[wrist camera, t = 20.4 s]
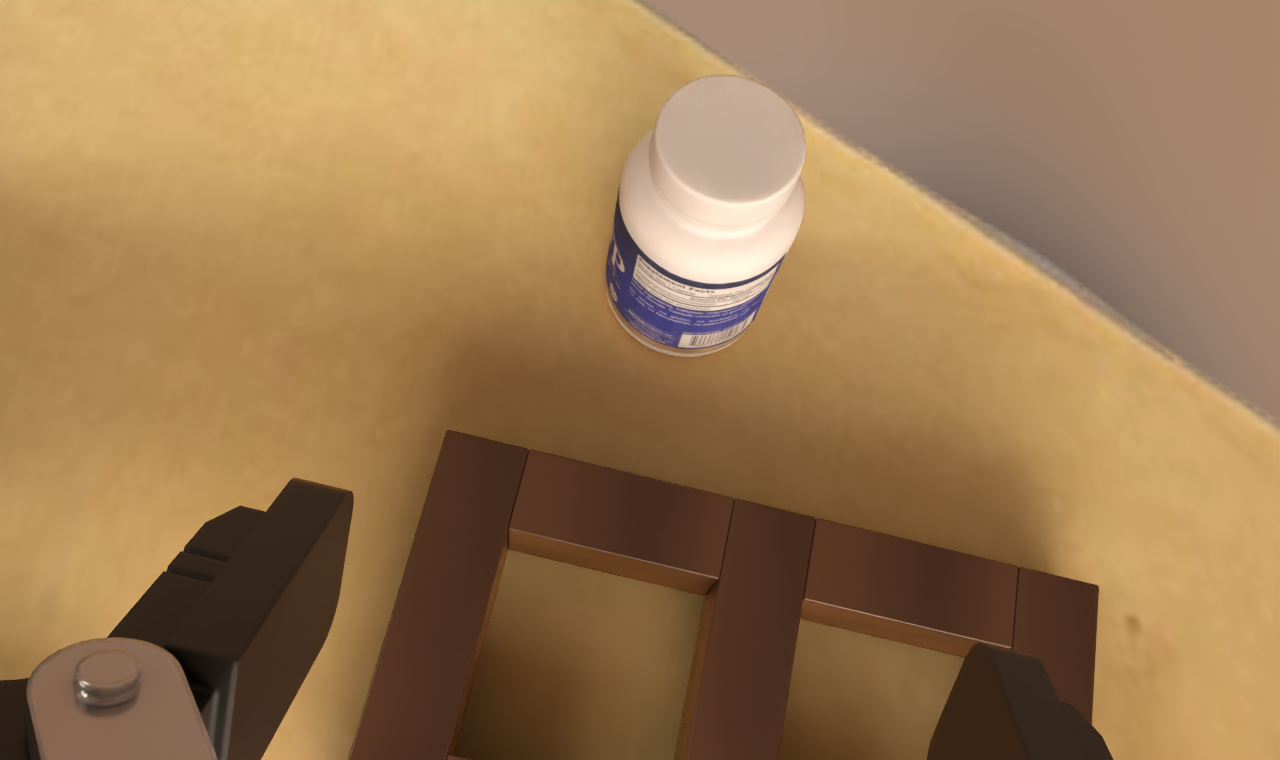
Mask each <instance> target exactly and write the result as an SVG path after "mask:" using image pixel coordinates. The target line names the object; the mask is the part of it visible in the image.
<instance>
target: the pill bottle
mask: <svg viewBox="0 0 1280 760" xmlns="http://www.w3.org/2000/svg"><path fill="white" fill-rule="evenodd" d="M805 153H806V141H805V134H804V130H803V127H802V125H801V122H800V120H799V118H798V116H797V115H796V113H795V111H794V110H793V108H792V107H791V106H790V105H789V104H788V102H787V101H786V100H785V99H784V98H783V97H782V96H780V95H779V94H778V93H776V92H775V91H774V90H772V89H771V88H769V87H767V86H765V85H763V84H761V83H759V82H757V81H755V80H752V79H749V78H745V77H740V76H735V75H712V76H706V77H702V78H699V79H695V80H693V81H691V82H689V83H687V84H685V85H683V86H682V87H680V88H679V89H677V90H676V91H675V92H674V93H673V94H672V95H671V96H670V97H669V98H668V99H667V100H666V102H665V103H664V105H663V106H662V108H661V110H660V112H659V114H658V116H657V120H656V123H655V127H654V128H653V129H652V130H651V131H649V132H648V133H647V134H646V135H645V136H644V137H643V138H642V139H641V140H640V141H639V142H638V144H637V145H636V146H635V147H634V149H633V150H632V152H631V154H630V155H629V157H628V159H627V161H626V164H625V166H624V169H623V173H622V176H621V180H620V184H619V190H618V197H617V203H616V209H615V215H614V221H613V227H612V233H611V239H610V245H609V251H608V257H607V262H606V269H605V289H606V294H607V298H608V302H609V304H610V307H611V309H612V311H613V313H614V315H615V317H616V318H617V320H618V321H619V323H620V324H621V325H622V327H623V328H624V329H625V330H626V331H627V332H628V333H629V334H630V335H631V336H632V337H634V338H635V339H636V340H637V341H639V342H640V343H642V344H643V345H645V346H647V347H649V348H651V349H653V350H655V351H658V352H661V353H664V354H667V355H672V356H679V357H697V356H704V355H708V354H712V353H715V352H718V351H720V350H722V349H725V348H727V347H728V346H730V345H731V344H733V343H735V342H736V341H737V340H738V339H739V338H741V337H742V336H743V335H744V333H745V332H746V331H747V330H748V329H749V328H750V326H751V325H752V323H753V322H754V320H755V319H756V317H757V315H758V313H759V310H760V308H761V306H762V304H763V301H764V299H765V297H766V295H767V293H768V291H769V289H770V287H771V284H772V282H773V280H774V278H775V276H776V274H777V272H778V270H779V268H780V266H781V265H782V263H783V261H784V259H785V257H786V255H787V253H788V251H789V249H790V247H791V245H792V243H793V241H794V239H795V237H796V235H797V233H798V230H799V228H800V225H801V222H802V218H803V213H804V202H805V199H804V187H803V182H802V178H801V175H800V172H801V170H802V167H803V164H804V160H805Z"/></svg>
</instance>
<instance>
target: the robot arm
mask: <svg viewBox="0 0 1280 760" xmlns="http://www.w3.org/2000/svg"><path fill="white" fill-rule="evenodd" d="M352 511H353V493H352V491H349V490H345V489H341V488H336V487H332V486H328V485H324V484H320V483H315V482H311V481H307V480H303V479H299V478H293V479H291V480H290V481H289V482H288V484H287V485H286V486H285V488H284V489H283V490H282V492H281V493H280V494H279V495H278V497H277V498H276V499H275V501H274V502H273V503H272V505H271V506H270V507H269V508H268V510H267V511H266V512H264V511H260V510H256V509H252V508H248V507H243V506H238V507H236V508H234V509H232V510H230V511H228V512H226V513H224V514H222V515H220V516H218V517H216V518H214V519H212V520H210V521H208V522H206V523H205V524H204V525H203V526H202V527H201V528H200V530H199V531H198V532H197V533H196V534H195V535H194V537H193V538H192V539H191V540H190V541H189V542H188V544H187V545H186V546H185V548H184V551H183V552H180V553H179V554H178V555H177V556H176V558H175V559H174V560H173V561H172V562H171V563H170V565H169V566H168V569H167V571H166V572H164V571H163V573H162V574H161V575H160V576H159V577H158V578H157V580H156V581H155V582H154V583H153V584H152V585H151V587H150V588H149V589H148V590H147V591H146V592H145V594H144V595H143V596H142V597H141V598H140V599H139V601H138V602H137V603H136V604H135V605H134V606H133V608H132V609H131V610H130V611H129V612H128V613H127V615H126V616H125V617H124V618H123V619H122V620H121V622H120V623H119V624H118V625H117V626H116V627H115V629H114V630H113V631H112V632H111V633H110V634H109V636H108V637H107V638H99V639H92V640H87V641H82V642H79V643H76V644H73V645H70V646H67V647H65V648H63V649H61V650H58V651H57V652H55V653H53V654H52V655H50V656H48V657H47V658H46V659H45V660H43V661H42V662H41V663H40V664H39V665H38V666H37V667H36V668H35V670H34V671H33V672H32V674H31V676H30V678H26V679H18V680H3V681H0V760H261V758H262V756H263V755H264V753H265V751H266V749H267V747H268V745H269V744H270V742H271V740H272V738H273V736H274V734H275V733H276V731H277V729H278V727H279V725H280V723H281V722H282V720H283V718H284V716H285V714H286V712H287V711H288V709H289V707H290V705H291V703H292V701H293V700H294V698H295V696H296V694H297V692H298V690H299V689H300V687H301V685H302V683H303V681H304V679H305V678H306V676H307V674H308V672H309V670H310V668H311V667H312V665H313V663H314V661H315V659H316V657H317V656H318V654H319V652H320V650H321V648H322V646H323V644H324V642H325V640H326V638H327V636H328V633H329V630H330V628H331V625H332V622H333V618H334V615H335V612H336V608H337V604H338V599H339V594H340V588H341V581H342V575H343V568H344V562H345V556H346V549H347V543H348V536H349V530H350V524H351V517H352ZM927 760H1113V758H1112V756H1111V754H1110V752H1109V750H1108V748H1107V746H1106V744H1105V742H1104V740H1103V737H1102V736H1101V735H1100V734H1099V733H1098V732H1097V731H1096V729H1095V728H1094V727H1093V726H1092V725H1091V724H1090V723H1089V722H1088V721H1087V720H1086V719H1085V718H1084V717H1083V715H1082V714H1081V713H1080V712H1079V711H1078V710H1077V709H1076V708H1075V707H1074V706H1073V705H1071V704H1067V703H1063V702H1060V701H1059V699H1058V697H1057V694H1056V692H1055V690H1054V688H1053V685H1052V683H1051V681H1050V679H1049V677H1048V674H1047V672H1046V670H1045V668H1044V665H1043V663H1042V662H1041V660H1040V659H1039V658H1038V657H1037V656H1035V655H1030V654H1026V653H1022V652H1018V651H1014V650H1009V649H1005V648H1001V647H997V646H993V645H988V644H984V643H977V644H975V645H974V646H973V647H972V648H971V649H970V651H969V652H968V654H967V656H966V658H965V660H964V663H963V665H962V667H961V670H960V672H959V674H958V677H957V679H956V681H955V684H954V686H953V689H952V691H951V693H950V696H949V698H948V700H947V703H946V705H945V707H944V710H943V712H942V714H941V717H940V719H939V722H938V724H937V726H936V729H935V731H934V733H933V736H932V739H931V742H930V745H929V750H928V755H927Z"/></svg>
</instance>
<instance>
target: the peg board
mask: <svg viewBox="0 0 1280 760" xmlns="http://www.w3.org/2000/svg"><path fill="white" fill-rule="evenodd" d="M508 549H510V550H514V551H518V552H522V553H526V554H530V555H535V556H539V557H543V558H547V559H552V560H556V561H560V562H564V563H568V564H573V565H577V566H581V567H585V568H589V569H594V570H598V571H602V572H606V573H611V574H615V575H619V576H623V577H627V578H632V579H636V580H640V581H644V582H648V583H653V584H657V585H661V586H665V587H670V588H674V589H678V590H682V591H686V592H691V593H695V594H699V595H705V598H704V604H703V609H702V614H701V619H700V625H699V630H698V635H697V640H696V646H695V651H694V656H693V661H692V666H691V672H690V677H689V682H688V687H687V693H686V698H685V703H684V708H683V713H682V719H681V724H680V729H679V734H678V740H677V745H676V750H675V755H674V760H778V756H779V750H780V744H781V737H782V731H783V724H784V718H785V712H786V705H787V699H788V692H789V686H790V680H791V673H792V667H793V661H794V654H795V648H796V641H797V635H798V629H799V622H800V618H801V619H805V620H809V621H813V622H817V623H822V624H826V625H830V626H834V627H838V628H843V629H847V630H851V631H855V632H859V633H864V634H868V635H872V636H876V637H881V638H885V639H889V640H893V641H897V642H902V643H906V644H910V645H914V646H918V647H923V648H927V649H931V650H935V651H940V652H944V653H948V654H952V655H956V656H961V657H965V658H966V656H967V654H968V652H969V651H970V649H971V648H972V647H973V646H974V645H975V644H977V643H984V644H988V645H993V646H997V647H1001V648H1005V649H1009V650H1014V651H1018V652H1022V653H1026V654H1030V655H1035V656H1037V657H1038V658H1039V659H1040V660H1041V662H1042V663H1043V665H1044V668H1045V670H1046V672H1047V674H1048V677H1049V679H1050V681H1051V683H1052V685H1053V688H1054V690H1055V692H1056V694H1057V697H1058V699H1059V701H1060V702H1063V703H1067V704H1071V705H1073V706H1074V707H1075V708H1076V709H1077V710H1078V711H1079V712H1080V713H1081V714H1082V715H1083V717H1084V718H1085V719H1086V720H1087V721H1088V722H1089V723H1090V724H1091V725H1092V707H1093V688H1094V669H1095V650H1096V632H1097V613H1098V594H1099V587H1098V586H1097V585H1094V584H1090V583H1086V582H1081V581H1077V580H1073V579H1069V578H1065V577H1061V576H1056V575H1052V574H1048V573H1044V572H1040V571H1035V570H1031V569H1027V568H1023V567H1019V568H1018V566H1015V565H1011V564H1007V563H1003V562H998V561H994V560H990V559H986V558H982V557H978V556H973V555H969V554H965V553H961V552H957V551H953V550H948V549H944V548H940V547H936V546H932V545H928V544H923V543H919V542H915V541H911V540H907V539H902V538H898V537H894V536H890V535H886V534H882V533H877V532H873V531H869V530H865V529H861V528H857V527H852V526H848V525H844V524H840V523H836V522H831V521H827V520H823V519H819V518H817V519H815V518H814V517H811V516H807V515H802V514H798V513H794V512H790V511H786V510H782V509H777V508H773V507H769V506H765V505H761V504H756V503H752V502H748V501H744V500H740V499H734V498H732V497H728V496H723V495H719V494H715V493H711V492H707V491H703V490H698V489H694V488H690V487H686V486H682V485H677V484H673V483H669V482H665V481H661V480H657V479H652V478H648V477H644V476H640V475H636V474H632V473H627V472H623V471H619V470H615V469H611V468H607V467H602V466H598V465H594V464H590V463H586V462H581V461H577V460H573V459H569V458H565V457H561V456H556V455H552V454H548V453H544V452H540V451H536V450H528V449H527V448H522V447H518V446H514V445H510V444H506V443H502V442H497V441H493V440H489V439H485V438H481V437H477V436H472V435H468V434H464V433H460V432H456V431H451V430H447V431H446V434H445V437H444V440H443V444H442V447H441V450H440V454H439V457H438V460H437V464H436V467H435V470H434V474H433V477H432V480H431V484H430V487H429V490H428V494H427V497H426V500H425V504H424V507H423V510H422V514H421V517H420V520H419V524H418V527H417V530H416V534H415V537H414V541H413V544H412V547H411V551H410V554H409V557H408V561H407V564H406V567H405V571H404V574H403V577H402V581H401V584H400V587H399V591H398V594H397V597H396V601H395V604H394V607H393V611H392V614H391V617H390V621H389V624H388V627H387V631H386V634H385V637H384V641H383V644H382V647H381V651H380V654H379V657H378V661H377V664H376V667H375V671H374V674H373V677H372V681H371V684H370V687H369V691H368V694H367V697H366V701H365V704H364V707H363V711H362V714H361V717H360V721H359V724H358V727H357V731H356V734H355V737H354V741H353V744H352V747H351V751H350V754H349V758H348V760H474V759H470V758H466V757H461V756H457V755H453V754H454V750H455V746H456V743H457V739H458V735H459V731H460V728H461V724H462V720H463V716H464V712H465V709H466V705H467V701H468V697H469V694H470V690H471V686H472V682H473V678H474V675H475V671H476V667H477V663H478V660H479V656H480V652H481V648H482V645H483V641H484V637H485V633H486V629H487V626H488V622H489V618H490V614H491V611H492V607H493V603H494V599H495V595H496V592H497V588H498V584H499V580H500V577H501V573H502V569H503V565H504V561H505V558H506V554H507V550H508Z"/></svg>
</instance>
